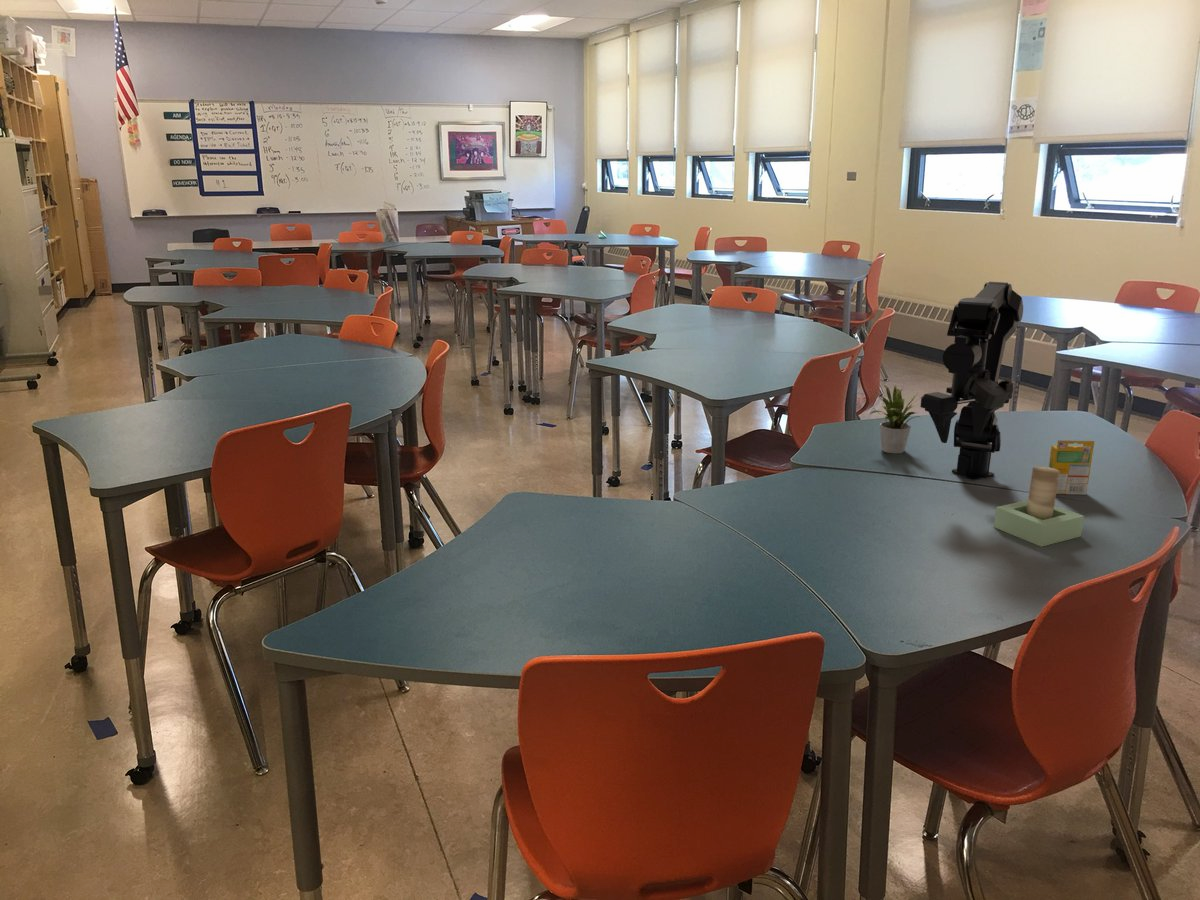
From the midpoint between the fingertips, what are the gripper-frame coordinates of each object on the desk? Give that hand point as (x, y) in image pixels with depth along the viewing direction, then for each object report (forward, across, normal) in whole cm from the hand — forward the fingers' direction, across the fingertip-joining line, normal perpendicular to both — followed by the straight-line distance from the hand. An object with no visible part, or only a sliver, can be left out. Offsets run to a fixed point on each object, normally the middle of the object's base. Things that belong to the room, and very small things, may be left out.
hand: (960, 439), depth 183 cm
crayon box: (+12, +22, -9) cm, 27 cm away
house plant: (+12, +11, +31) cm, 35 cm away
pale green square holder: (+12, -2, -21) cm, 24 cm away
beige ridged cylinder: (+12, -2, -21) cm, 24 cm away
